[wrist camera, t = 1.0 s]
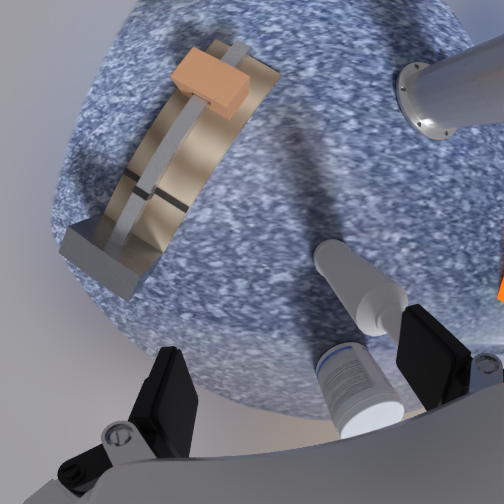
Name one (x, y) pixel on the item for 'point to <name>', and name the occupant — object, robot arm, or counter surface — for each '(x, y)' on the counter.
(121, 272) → the slider rail assembly
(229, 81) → the tan notched block
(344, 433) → the supplement tub
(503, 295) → the orange juice
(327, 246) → the bottle
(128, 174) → the base board
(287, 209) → the counter surface
